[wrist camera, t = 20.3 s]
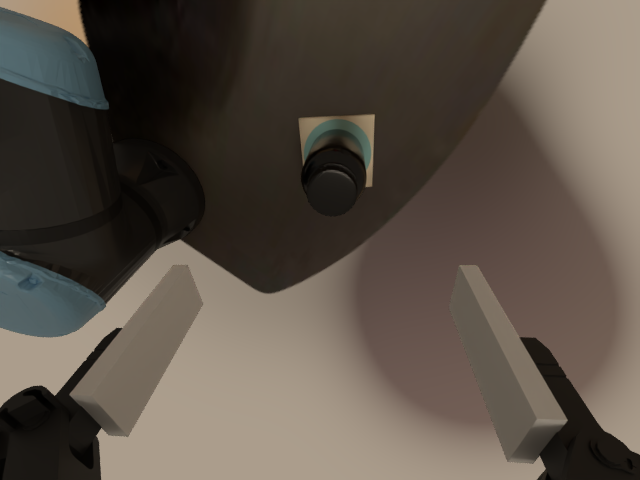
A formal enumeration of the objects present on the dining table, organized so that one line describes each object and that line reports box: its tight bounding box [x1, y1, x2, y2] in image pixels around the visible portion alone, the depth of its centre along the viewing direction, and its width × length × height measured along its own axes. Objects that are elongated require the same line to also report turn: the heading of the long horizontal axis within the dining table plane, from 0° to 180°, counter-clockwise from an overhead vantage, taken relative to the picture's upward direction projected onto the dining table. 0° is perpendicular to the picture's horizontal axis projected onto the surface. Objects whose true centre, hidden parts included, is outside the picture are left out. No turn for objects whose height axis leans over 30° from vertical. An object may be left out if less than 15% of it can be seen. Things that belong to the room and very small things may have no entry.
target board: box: [299, 114, 375, 187], centre depth 37 cm, size 9×9×1 cm
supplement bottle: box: [301, 129, 367, 216], centre depth 32 cm, size 7×7×12 cm
